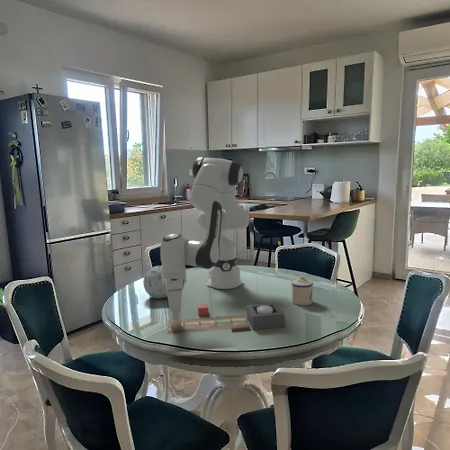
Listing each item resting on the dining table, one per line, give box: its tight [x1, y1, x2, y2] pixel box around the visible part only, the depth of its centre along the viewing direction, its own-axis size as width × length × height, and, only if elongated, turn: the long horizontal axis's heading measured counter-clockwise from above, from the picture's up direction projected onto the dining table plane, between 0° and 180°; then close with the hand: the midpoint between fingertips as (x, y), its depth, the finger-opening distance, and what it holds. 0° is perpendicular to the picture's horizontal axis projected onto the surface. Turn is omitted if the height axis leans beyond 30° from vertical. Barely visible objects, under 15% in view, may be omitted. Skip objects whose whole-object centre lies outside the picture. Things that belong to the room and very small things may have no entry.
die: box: [197, 303, 210, 316], centre depth 154 cm, size 4×4×4 cm
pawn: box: [169, 310, 182, 328], centre depth 142 cm, size 4×4×6 cm
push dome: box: [257, 305, 273, 314], centre depth 146 cm, size 6×6×3 cm
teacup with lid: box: [291, 275, 314, 306], centre depth 167 cm, size 12×9×12 cm
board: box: [167, 314, 251, 335], centre depth 144 cm, size 12×30×1 cm, turn 97°
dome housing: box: [246, 302, 285, 331], centre depth 146 cm, size 12×12×5 cm
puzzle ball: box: [143, 265, 168, 300], centre depth 177 cm, size 15×15×15 cm
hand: (175, 314), depth 141 cm, fingers open, 8 cm apart
